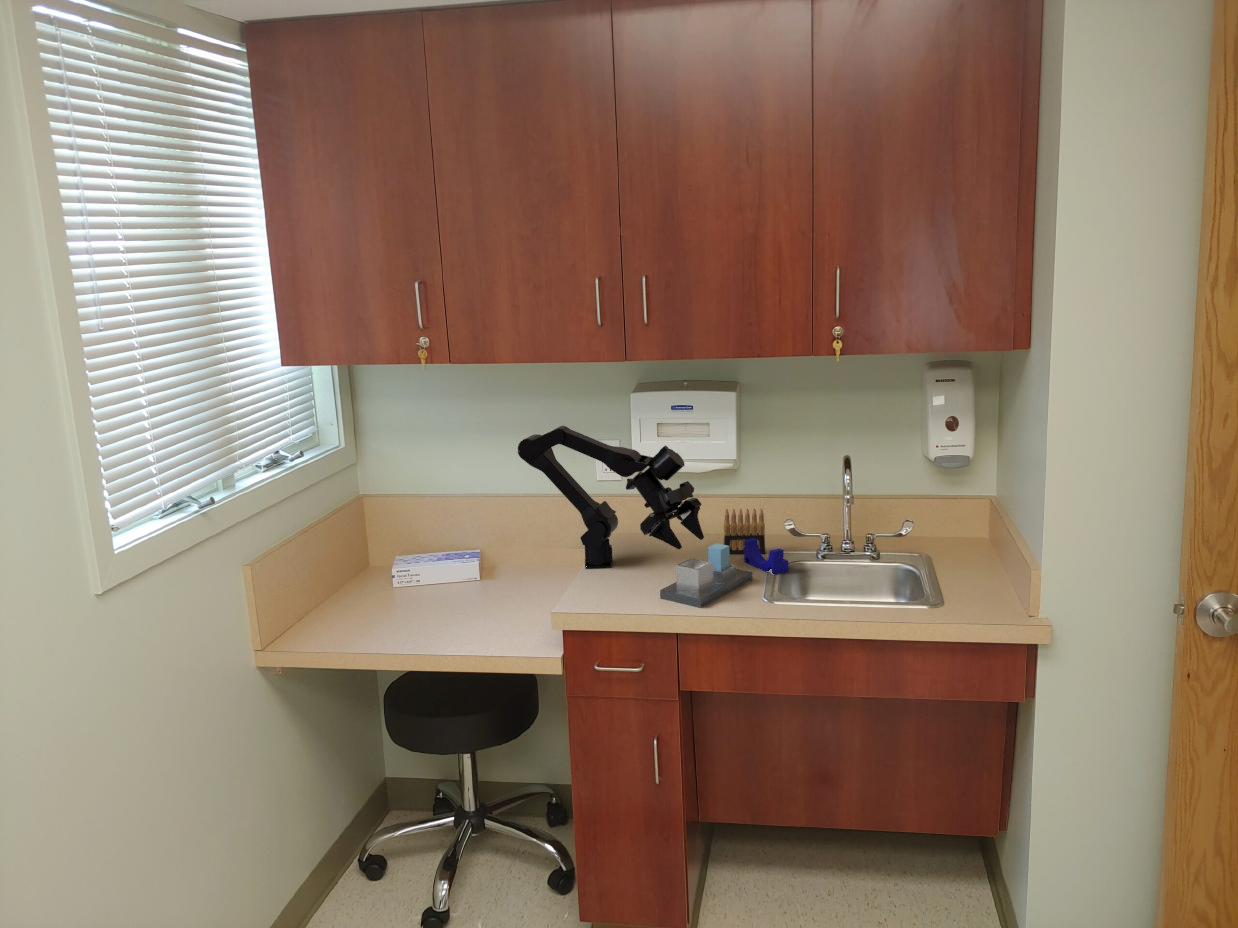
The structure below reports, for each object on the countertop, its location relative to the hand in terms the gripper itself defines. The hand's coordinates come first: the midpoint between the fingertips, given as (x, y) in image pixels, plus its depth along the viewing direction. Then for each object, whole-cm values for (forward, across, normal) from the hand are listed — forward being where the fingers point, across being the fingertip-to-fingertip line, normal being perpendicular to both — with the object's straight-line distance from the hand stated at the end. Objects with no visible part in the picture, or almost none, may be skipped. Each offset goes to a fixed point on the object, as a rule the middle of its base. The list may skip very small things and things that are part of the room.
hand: (691, 543), depth 234 cm
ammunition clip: (+6, +23, +6) cm, 25 cm away
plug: (+10, 0, -1) cm, 10 cm away
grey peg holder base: (+11, -5, +1) cm, 12 cm away
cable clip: (+14, +16, -1) cm, 22 cm away
